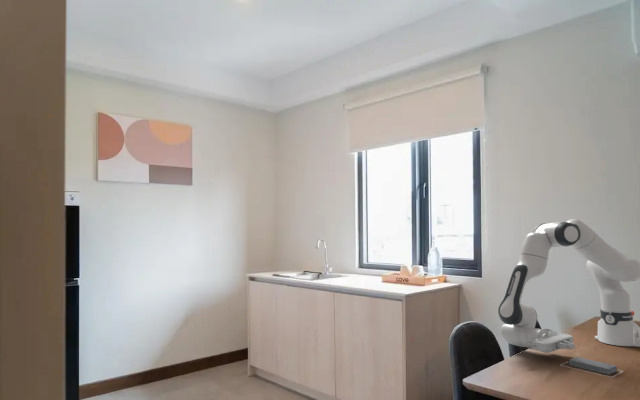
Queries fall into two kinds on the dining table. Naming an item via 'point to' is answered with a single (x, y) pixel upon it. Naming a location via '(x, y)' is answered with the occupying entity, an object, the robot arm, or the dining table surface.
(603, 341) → the robot arm
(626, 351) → the dining table surface
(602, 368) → the tile
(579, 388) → the dining table surface
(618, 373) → the white wire frame
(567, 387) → the dining table surface
